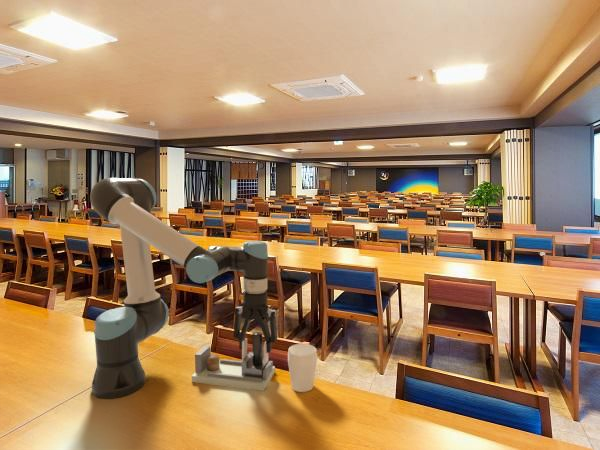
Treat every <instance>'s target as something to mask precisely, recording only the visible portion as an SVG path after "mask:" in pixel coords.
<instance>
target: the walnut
mask: <svg viewBox="0 0 600 450" xmlns="http://www.w3.org/2000/svg"><path fill="white" fill-rule="evenodd" d="M219 360H220V355H219V354H214V353H212V354H211V355H209V356H207V370H208V371H217V370H219V368H220V367H219Z"/></svg>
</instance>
